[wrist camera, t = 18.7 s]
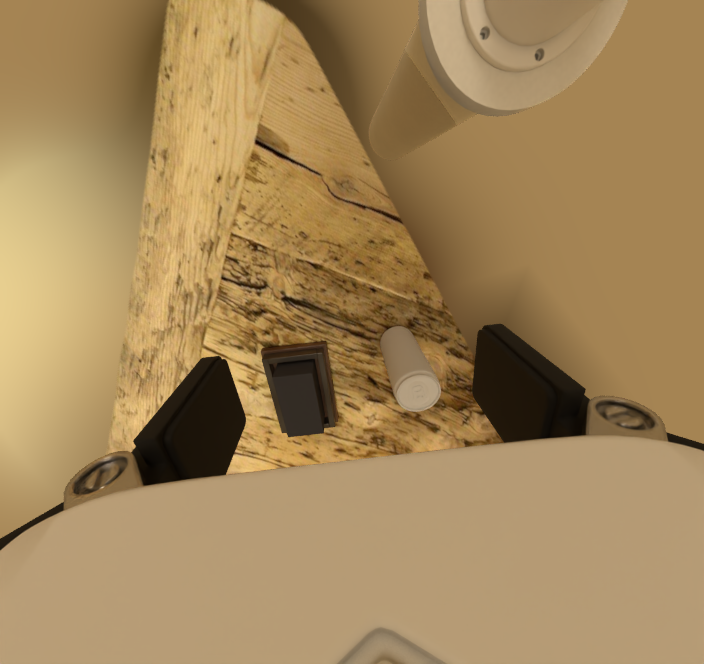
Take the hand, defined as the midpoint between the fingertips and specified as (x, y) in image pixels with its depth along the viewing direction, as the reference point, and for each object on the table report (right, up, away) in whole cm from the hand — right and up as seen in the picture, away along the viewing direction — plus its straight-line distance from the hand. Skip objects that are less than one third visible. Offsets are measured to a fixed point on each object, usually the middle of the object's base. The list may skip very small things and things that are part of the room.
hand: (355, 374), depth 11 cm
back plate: (-7, -6, +32) cm, 33 cm away
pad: (-7, -7, +31) cm, 32 cm away
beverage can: (+6, +1, +29) cm, 30 cm away
